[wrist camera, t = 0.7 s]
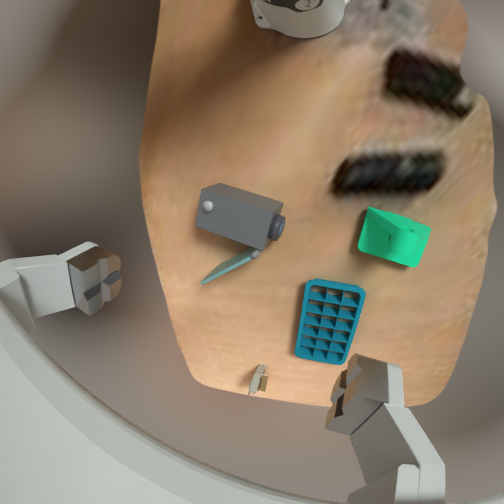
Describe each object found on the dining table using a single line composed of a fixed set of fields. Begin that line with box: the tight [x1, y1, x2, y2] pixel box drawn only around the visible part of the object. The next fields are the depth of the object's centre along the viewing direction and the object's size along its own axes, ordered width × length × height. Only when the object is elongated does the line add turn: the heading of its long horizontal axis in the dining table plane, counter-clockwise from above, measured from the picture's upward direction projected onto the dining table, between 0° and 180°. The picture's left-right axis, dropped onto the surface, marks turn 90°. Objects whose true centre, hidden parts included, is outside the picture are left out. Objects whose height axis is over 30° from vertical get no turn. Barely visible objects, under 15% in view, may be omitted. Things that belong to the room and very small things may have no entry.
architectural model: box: [248, 364, 268, 395], centre depth 64 cm, size 3×7×7 cm, turn 175°
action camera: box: [196, 183, 285, 251], centre depth 48 cm, size 15×7×8 cm, turn 76°
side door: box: [201, 247, 262, 285], centre depth 52 cm, size 13×1×8 cm, turn 124°
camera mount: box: [358, 206, 431, 267], centre depth 40 cm, size 12×8×10 cm, turn 81°
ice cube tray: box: [295, 278, 366, 365], centre depth 54 cm, size 12×20×3 cm, turn 178°
